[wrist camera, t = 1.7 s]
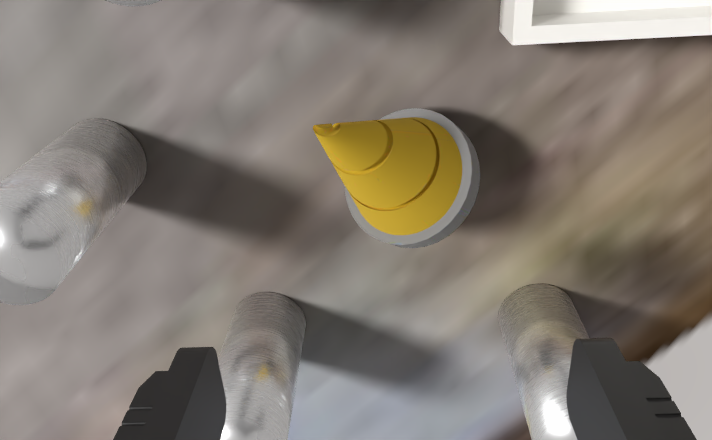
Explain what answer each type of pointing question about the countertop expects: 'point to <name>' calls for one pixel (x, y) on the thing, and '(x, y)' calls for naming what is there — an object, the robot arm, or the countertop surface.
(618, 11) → the tray
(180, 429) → the robot arm
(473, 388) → the countertop surface
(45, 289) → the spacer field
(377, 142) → the stepped yellow cone
